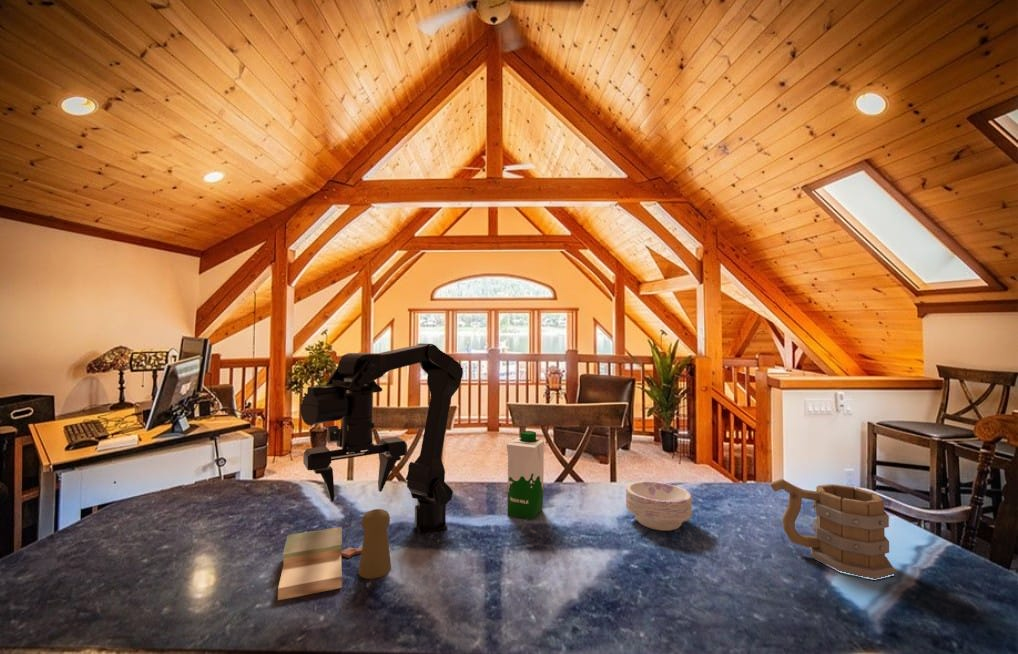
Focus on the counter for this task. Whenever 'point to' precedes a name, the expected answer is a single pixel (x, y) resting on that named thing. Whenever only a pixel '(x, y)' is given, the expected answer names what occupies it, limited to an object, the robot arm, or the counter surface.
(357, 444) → the robot arm
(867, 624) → the counter surface
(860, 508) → the tankard
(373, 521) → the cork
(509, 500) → the milk carton
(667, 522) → the paper bowls
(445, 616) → the counter surface
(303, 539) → the tan piece
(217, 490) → the counter surface
